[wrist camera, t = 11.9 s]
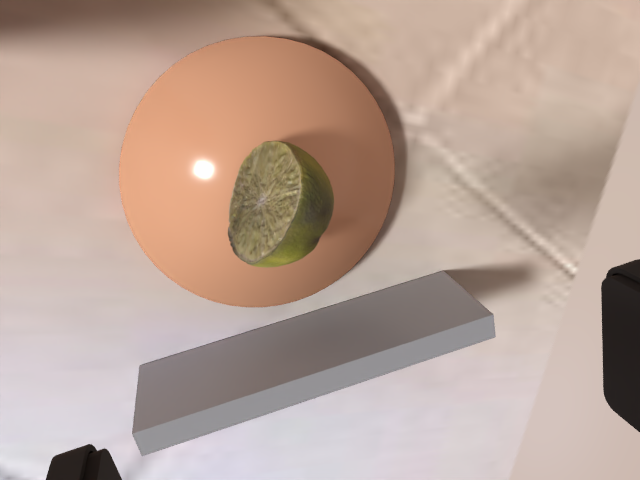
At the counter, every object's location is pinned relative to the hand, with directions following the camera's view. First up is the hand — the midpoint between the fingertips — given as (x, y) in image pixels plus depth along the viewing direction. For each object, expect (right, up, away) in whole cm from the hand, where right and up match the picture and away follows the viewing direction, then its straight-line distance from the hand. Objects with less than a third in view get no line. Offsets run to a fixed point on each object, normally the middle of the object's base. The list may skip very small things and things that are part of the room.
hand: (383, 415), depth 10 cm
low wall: (-2, -1, +18) cm, 18 cm away
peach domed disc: (-4, +6, +15) cm, 17 cm away
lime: (-3, +5, +14) cm, 16 cm away
